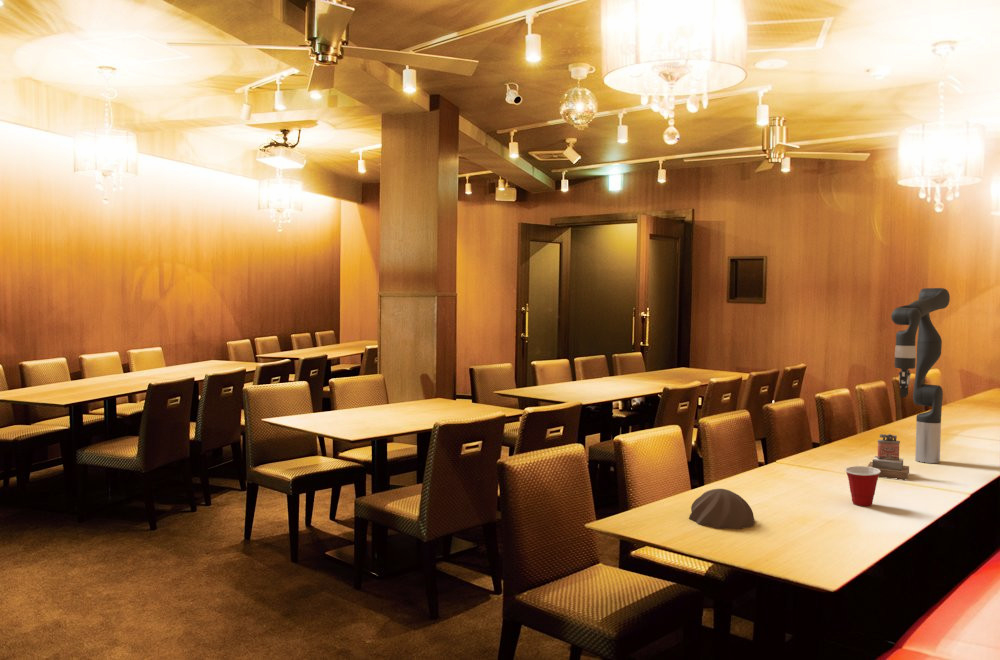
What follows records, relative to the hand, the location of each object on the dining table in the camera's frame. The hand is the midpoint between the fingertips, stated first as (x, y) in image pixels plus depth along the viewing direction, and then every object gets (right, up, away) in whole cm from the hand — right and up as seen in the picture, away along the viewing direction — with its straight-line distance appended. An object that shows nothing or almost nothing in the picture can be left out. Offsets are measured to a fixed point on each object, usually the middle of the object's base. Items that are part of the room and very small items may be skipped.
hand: (904, 396), depth 304 cm
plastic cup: (-44, -32, -55) cm, 78 cm away
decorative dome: (-97, -32, -75) cm, 127 cm away
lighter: (-12, -24, -10) cm, 29 cm away
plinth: (-12, -30, -10) cm, 34 cm away
